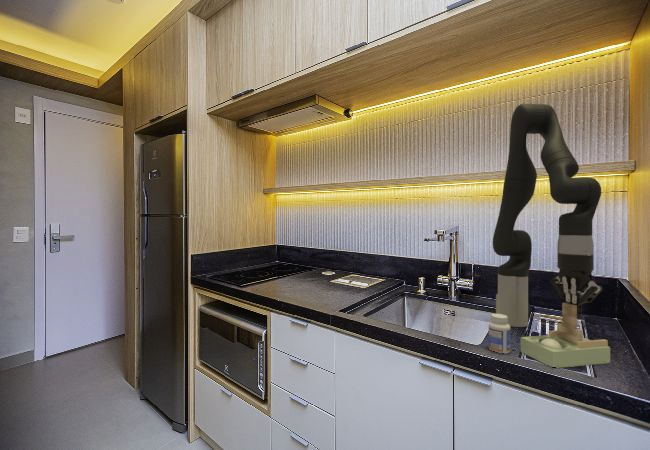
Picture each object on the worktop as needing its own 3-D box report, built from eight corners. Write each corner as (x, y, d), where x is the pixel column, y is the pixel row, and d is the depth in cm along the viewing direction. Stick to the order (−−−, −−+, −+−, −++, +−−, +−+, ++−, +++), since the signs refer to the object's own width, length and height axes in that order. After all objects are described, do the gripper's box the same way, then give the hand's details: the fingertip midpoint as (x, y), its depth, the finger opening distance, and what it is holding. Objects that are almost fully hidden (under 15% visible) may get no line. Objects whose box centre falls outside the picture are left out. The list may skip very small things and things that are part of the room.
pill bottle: (502, 346, 89) (503, 312, 89) (515, 354, 84) (515, 318, 84) (484, 346, 89) (484, 312, 89) (495, 354, 84) (495, 318, 84)
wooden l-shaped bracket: (557, 336, 85) (557, 301, 85) (560, 336, 85) (560, 301, 85) (578, 344, 79) (578, 307, 79) (582, 344, 79) (582, 306, 79)
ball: (537, 333, 83) (552, 338, 84) (532, 351, 83) (547, 356, 84) (554, 340, 78) (569, 345, 79) (548, 359, 78) (564, 364, 79)
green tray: (520, 351, 85) (520, 331, 85) (572, 347, 88) (572, 328, 88) (553, 368, 75) (553, 345, 75) (610, 362, 78) (610, 341, 78)
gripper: (541, 250, 88) (541, 310, 88) (588, 254, 75) (588, 325, 75) (563, 250, 90) (563, 309, 90) (613, 254, 77) (613, 324, 77)
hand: (574, 316), depth 82 cm, fingers closed
